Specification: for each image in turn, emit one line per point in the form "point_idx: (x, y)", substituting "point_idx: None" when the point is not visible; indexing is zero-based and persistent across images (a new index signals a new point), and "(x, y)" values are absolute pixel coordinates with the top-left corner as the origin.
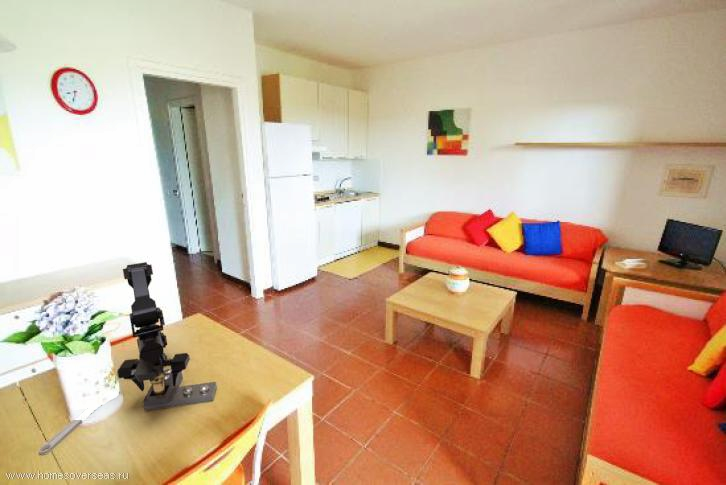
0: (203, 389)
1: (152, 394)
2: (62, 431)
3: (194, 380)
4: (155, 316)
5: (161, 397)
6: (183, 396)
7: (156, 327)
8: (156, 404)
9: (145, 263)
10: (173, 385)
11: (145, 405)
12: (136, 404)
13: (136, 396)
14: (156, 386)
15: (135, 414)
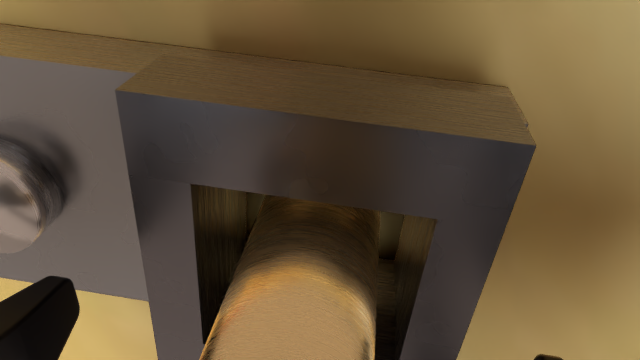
0: None
1: (410, 276)
2: None
3: (107, 342)
4: None
5: (226, 131)
6: (19, 124)
7: None
8: (329, 76)
9: None
10: (49, 295)
11: (486, 101)
12: (590, 231)
13: (587, 337)
14: (283, 355)
15: (608, 60)
